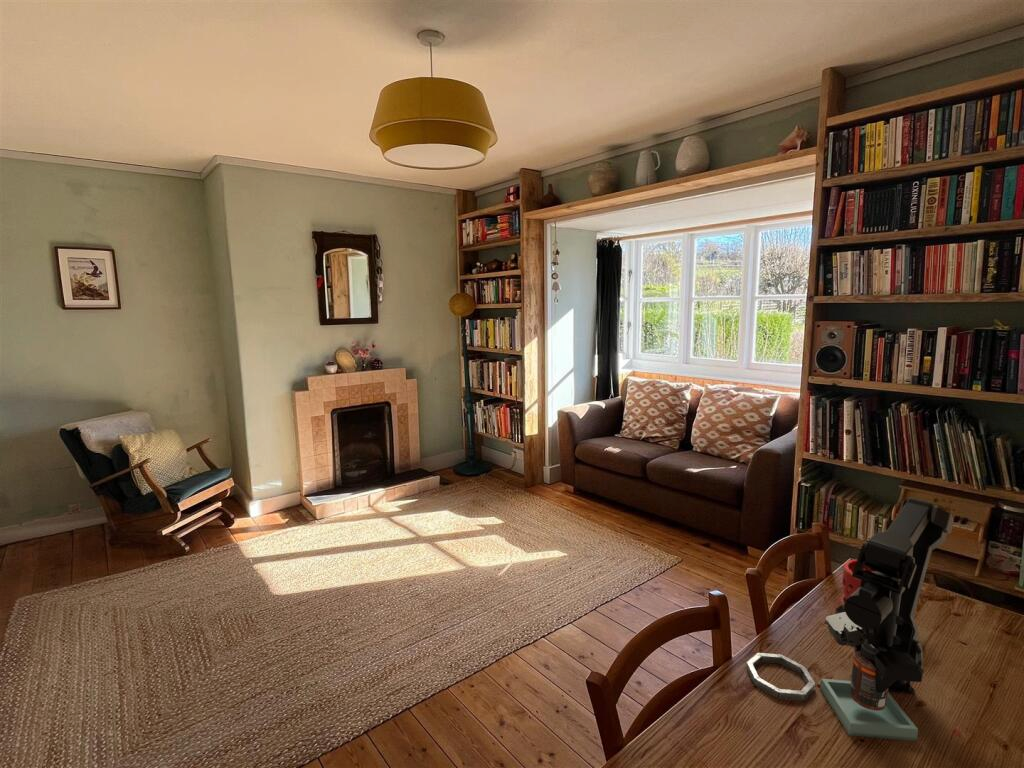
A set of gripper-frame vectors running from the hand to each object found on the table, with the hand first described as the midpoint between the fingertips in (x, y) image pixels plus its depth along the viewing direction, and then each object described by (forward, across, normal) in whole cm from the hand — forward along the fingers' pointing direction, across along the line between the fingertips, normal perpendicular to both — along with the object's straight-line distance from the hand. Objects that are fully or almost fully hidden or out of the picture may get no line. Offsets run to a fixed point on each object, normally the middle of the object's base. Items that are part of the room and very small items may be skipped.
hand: (870, 679), depth 102 cm
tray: (+7, 0, 0) cm, 7 cm away
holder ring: (+7, -8, -13) cm, 17 cm away
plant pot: (+8, -35, +19) cm, 40 cm away
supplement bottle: (+5, 0, 0) cm, 5 cm away
